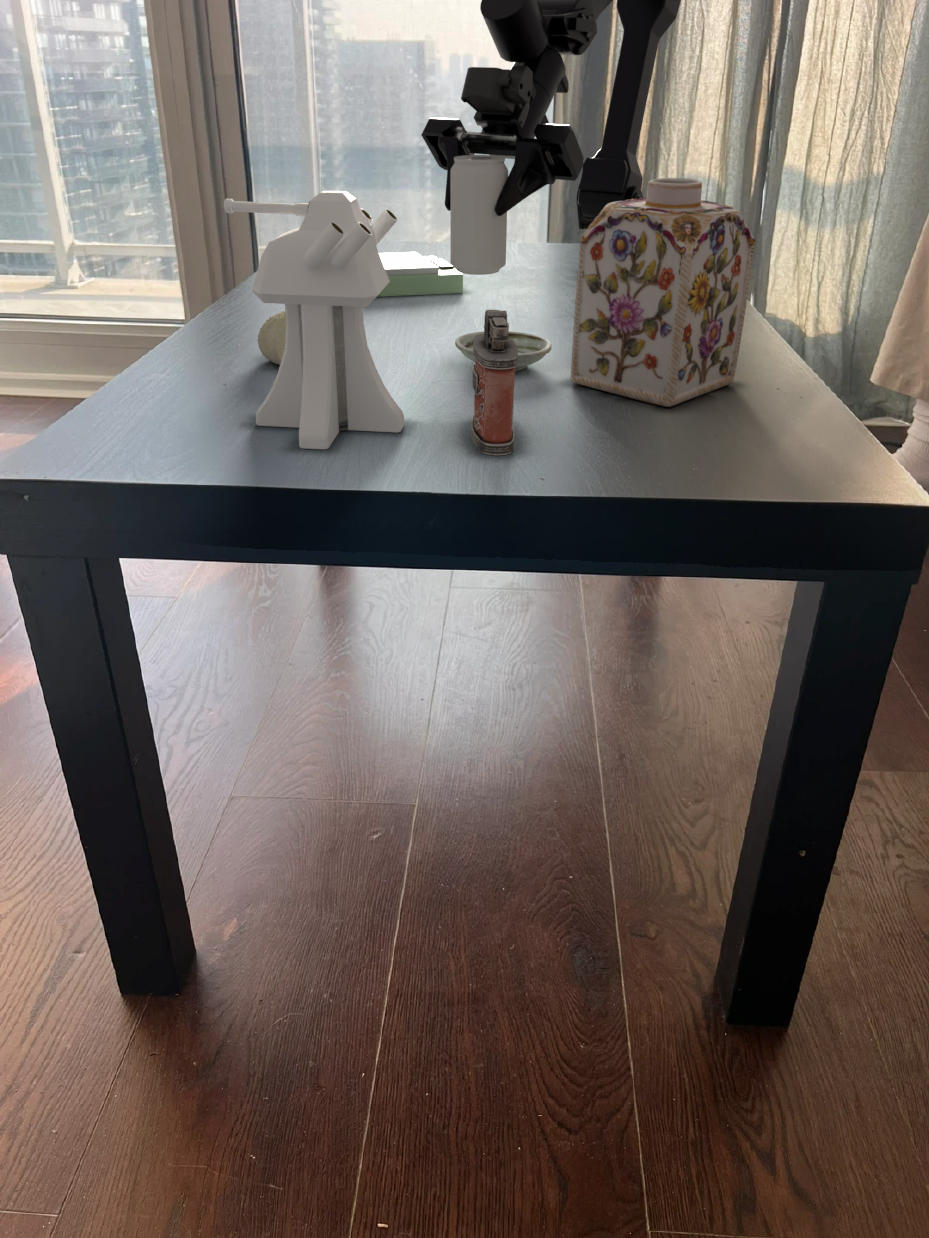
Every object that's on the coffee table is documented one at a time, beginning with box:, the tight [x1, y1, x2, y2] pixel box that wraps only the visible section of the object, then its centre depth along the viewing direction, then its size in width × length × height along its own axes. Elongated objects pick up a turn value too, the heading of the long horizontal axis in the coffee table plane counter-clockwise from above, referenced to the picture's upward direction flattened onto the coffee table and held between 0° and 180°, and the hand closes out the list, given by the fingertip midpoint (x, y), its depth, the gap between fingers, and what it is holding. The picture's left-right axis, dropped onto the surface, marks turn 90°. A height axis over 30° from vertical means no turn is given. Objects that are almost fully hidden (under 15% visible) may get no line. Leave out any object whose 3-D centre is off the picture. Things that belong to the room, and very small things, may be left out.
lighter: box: [470, 309, 518, 456], centre depth 77 cm, size 8×3×10 cm, turn 5°
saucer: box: [454, 330, 553, 372], centre depth 98 cm, size 10×10×2 cm
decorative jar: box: [570, 177, 756, 408], centre depth 89 cm, size 12×12×18 cm
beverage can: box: [450, 154, 509, 276], centre depth 110 cm, size 6×6×12 cm
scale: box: [376, 251, 464, 298], centre depth 132 cm, size 16×14×3 cm
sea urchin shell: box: [257, 310, 286, 366], centre depth 98 cm, size 9×8×8 cm
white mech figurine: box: [223, 190, 405, 450], centre depth 77 cm, size 12×13×18 cm
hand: (471, 210), depth 109 cm, fingers closed on beverage can, 6 cm apart
